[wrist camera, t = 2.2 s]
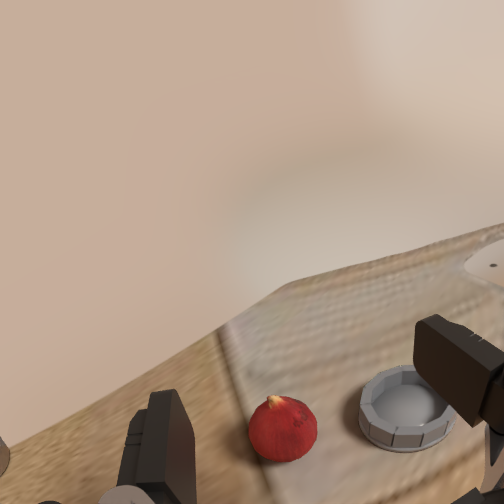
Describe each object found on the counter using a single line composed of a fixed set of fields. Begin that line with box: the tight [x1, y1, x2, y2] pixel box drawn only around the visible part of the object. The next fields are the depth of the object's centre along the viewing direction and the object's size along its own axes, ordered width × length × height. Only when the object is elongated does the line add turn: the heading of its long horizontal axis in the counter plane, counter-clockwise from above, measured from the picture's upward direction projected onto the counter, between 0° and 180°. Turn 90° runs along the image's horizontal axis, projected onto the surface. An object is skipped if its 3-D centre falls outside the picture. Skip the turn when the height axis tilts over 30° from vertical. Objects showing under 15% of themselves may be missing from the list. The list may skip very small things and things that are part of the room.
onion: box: [249, 395, 317, 462], centre depth 24 cm, size 6×6×8 cm
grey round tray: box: [359, 365, 457, 453], centre depth 25 cm, size 10×10×2 cm
